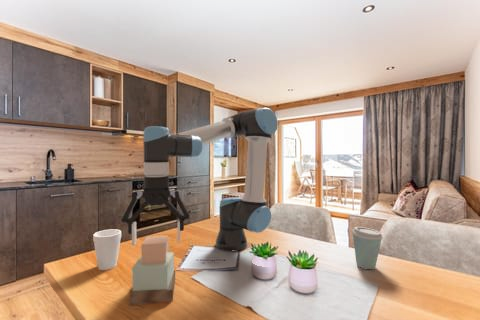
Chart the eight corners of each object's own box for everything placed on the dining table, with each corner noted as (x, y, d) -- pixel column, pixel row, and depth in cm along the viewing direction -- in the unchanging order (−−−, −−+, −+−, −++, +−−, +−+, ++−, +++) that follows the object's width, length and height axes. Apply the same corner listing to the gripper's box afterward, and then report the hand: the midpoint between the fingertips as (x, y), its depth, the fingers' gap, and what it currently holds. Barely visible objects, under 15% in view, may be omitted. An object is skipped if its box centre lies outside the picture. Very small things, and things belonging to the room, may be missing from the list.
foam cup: (108, 273, 86) (108, 238, 86) (87, 270, 88) (87, 236, 88) (126, 262, 96) (126, 230, 96) (106, 259, 98) (106, 228, 97)
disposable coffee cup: (367, 259, 100) (368, 224, 100) (388, 271, 90) (389, 232, 90) (345, 262, 98) (346, 226, 98) (365, 275, 87) (366, 234, 87)
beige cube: (168, 253, 80) (168, 235, 79) (165, 262, 73) (165, 243, 73) (146, 254, 78) (146, 236, 78) (141, 264, 71) (141, 244, 71)
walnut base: (175, 281, 82) (175, 270, 82) (172, 302, 71) (172, 289, 71) (138, 285, 80) (138, 273, 80) (129, 307, 68) (129, 294, 68)
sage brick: (173, 272, 81) (173, 252, 80) (167, 289, 71) (167, 266, 70) (143, 273, 80) (143, 253, 80) (132, 290, 70) (132, 267, 70)
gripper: (196, 174, 81) (196, 235, 82) (117, 175, 76) (118, 240, 77) (196, 176, 74) (196, 243, 75) (109, 177, 69) (110, 249, 70)
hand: (156, 242), depth 76 cm, fingers open, 13 cm apart
